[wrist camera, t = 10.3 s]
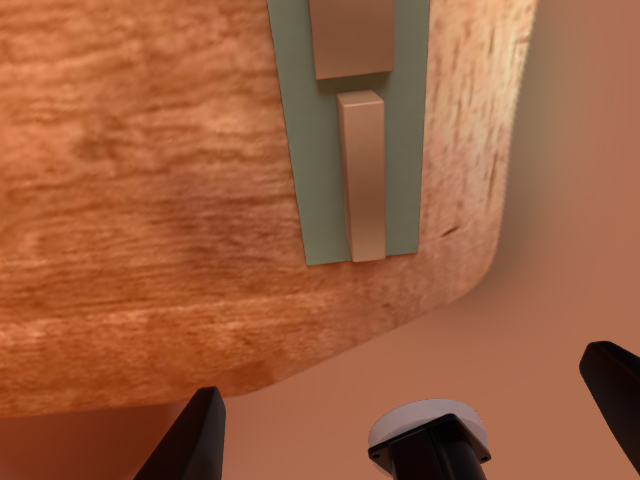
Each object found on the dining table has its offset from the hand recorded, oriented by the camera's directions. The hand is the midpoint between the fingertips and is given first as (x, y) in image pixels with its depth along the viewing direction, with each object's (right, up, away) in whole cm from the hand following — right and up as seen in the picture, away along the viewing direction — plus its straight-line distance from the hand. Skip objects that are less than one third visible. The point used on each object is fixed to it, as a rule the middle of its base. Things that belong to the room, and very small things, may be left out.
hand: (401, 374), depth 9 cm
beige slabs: (-1, +8, +6) cm, 10 cm away
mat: (-1, +8, +6) cm, 10 cm away
